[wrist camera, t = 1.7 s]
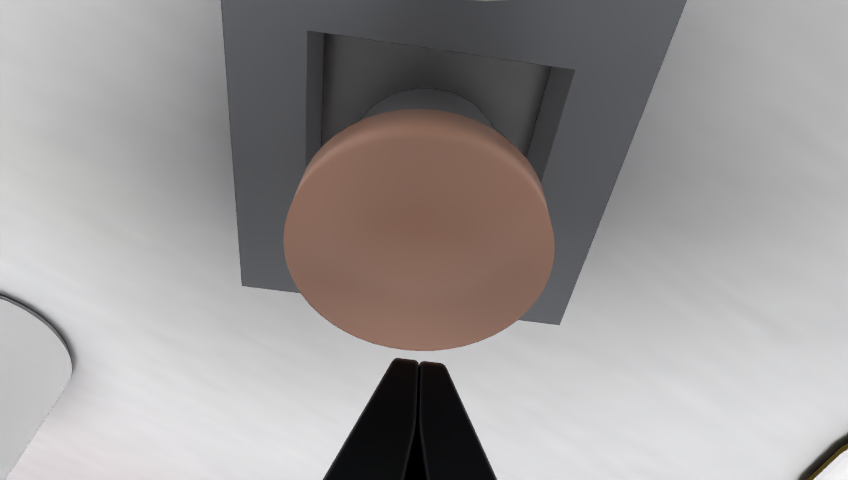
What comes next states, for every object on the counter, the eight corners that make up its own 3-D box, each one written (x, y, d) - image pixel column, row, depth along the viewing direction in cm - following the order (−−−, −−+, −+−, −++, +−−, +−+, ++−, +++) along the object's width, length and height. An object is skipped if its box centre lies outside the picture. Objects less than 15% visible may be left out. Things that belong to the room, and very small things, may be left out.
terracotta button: (556, 73, 14) (590, 159, 10) (505, 254, 17) (519, 363, 14) (323, 39, 14) (281, 116, 10) (317, 230, 17) (284, 335, 14)
